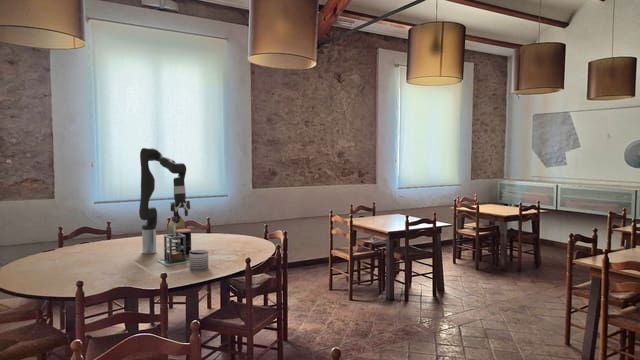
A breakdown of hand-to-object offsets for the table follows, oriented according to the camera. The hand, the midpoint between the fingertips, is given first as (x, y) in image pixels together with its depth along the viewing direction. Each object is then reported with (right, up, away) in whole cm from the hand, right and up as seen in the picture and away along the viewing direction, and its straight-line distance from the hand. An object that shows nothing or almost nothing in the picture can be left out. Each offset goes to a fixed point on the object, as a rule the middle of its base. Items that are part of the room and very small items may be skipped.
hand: (181, 216), depth 291 cm
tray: (-2, -30, -7) cm, 30 cm away
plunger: (-2, -16, -8) cm, 17 cm away
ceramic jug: (-24, -25, +64) cm, 73 cm away
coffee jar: (-3, -29, +13) cm, 32 cm away
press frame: (-2, -29, -7) cm, 30 cm away
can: (+18, -31, -21) cm, 42 cm away
